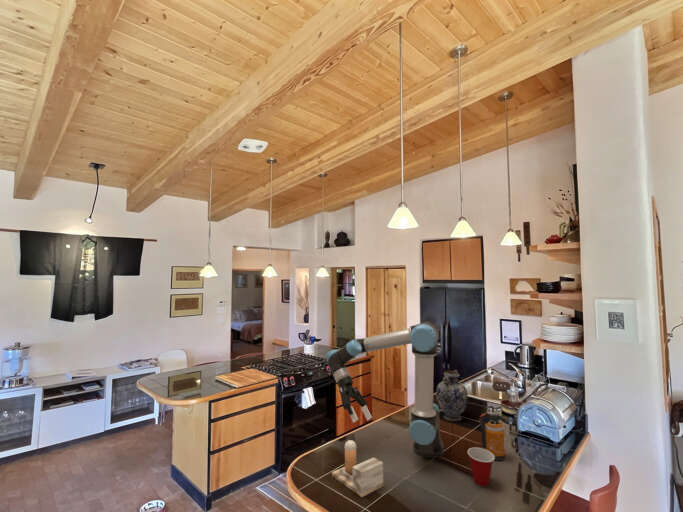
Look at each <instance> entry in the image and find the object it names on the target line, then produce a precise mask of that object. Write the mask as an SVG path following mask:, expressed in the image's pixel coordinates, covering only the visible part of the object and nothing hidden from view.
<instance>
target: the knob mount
mask: <svg viewBox="0 0 683 512" xmlns="http://www.w3.org/2000/svg"><path fill="white" fill-rule="evenodd" d="M331 476H332V477H333V478H335V480H337V481H339V482H340V483H341V484H343V485H344V486H345V487H347V488H348V489H350V490H351V491H353V492H354V493H355V494H357V495H358V496H359V497H360V498H363V497H365V496H367V495H369V494H371V493H373V492H375V491H376V490H378V489H380V488H382V487H384V462H383V461H381V460H379V459H378V458H376V457H372V458H369V459H366V460H364V461H363V462H360V463H357V464H356V466H353V476H351V475H350V474H348V473H347V472H345V466H343V467H341V468H338V469H336V470H334V471H331Z"/></svg>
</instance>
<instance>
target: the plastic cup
mask: <svg viewBox="0 0 683 512" xmlns="http://www.w3.org/2000/svg"><path fill="white" fill-rule="evenodd" d="M467 455H468V457H469V461H470V467H471V473H472V476H473V481H474V483H475V484H476V485H478V486H479V487H487V486H489V485H490V479H491V473H492V468H493V467H492V466H493V463H494V459H495V457H494V455H493V454H492V453H491V452H490V451H488V450H485V448H483V447H476V446H475V447H470V448H468V450H467Z"/></svg>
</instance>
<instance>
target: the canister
mask: <svg viewBox="0 0 683 512" xmlns="http://www.w3.org/2000/svg"><path fill="white" fill-rule="evenodd" d="M486 413H487V414H485V415H483V416H481V415H480V416H481V417H480V416H479V420H480V421H481V423H480V429H481V443H480V445H481V448H482V449H485V450H488V451H490V452H491V453H492V454H493V455H494V457H495V459H494V460H495V461H503V460H505V459H506V458H507V456H506V455H507V454H506V437H505V436H506V432H505V429H504V425H503V423H502V422H501V421H502V420H503V419H504V417H502V415H500V414H499V413H497V414H492V413H488V412H486ZM485 424H486V427H485Z"/></svg>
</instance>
